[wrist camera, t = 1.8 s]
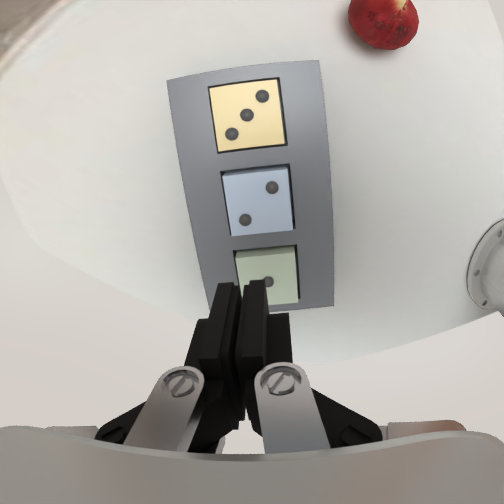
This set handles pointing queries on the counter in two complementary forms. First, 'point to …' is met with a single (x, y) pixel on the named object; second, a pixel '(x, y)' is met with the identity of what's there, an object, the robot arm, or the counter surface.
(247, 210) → the tile two
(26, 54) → the counter surface
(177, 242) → the counter surface
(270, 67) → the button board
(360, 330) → the counter surface
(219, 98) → the tile three
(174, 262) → the counter surface
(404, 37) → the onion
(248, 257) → the tile one
